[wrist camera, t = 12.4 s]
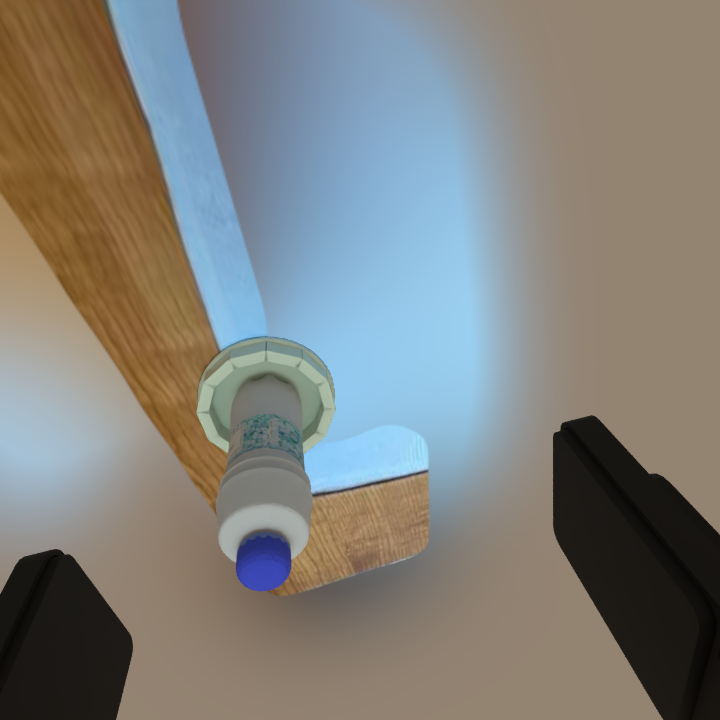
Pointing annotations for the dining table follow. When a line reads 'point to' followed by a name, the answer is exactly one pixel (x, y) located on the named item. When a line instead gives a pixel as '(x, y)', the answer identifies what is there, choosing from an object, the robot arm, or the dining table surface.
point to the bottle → (264, 484)
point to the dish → (254, 364)
